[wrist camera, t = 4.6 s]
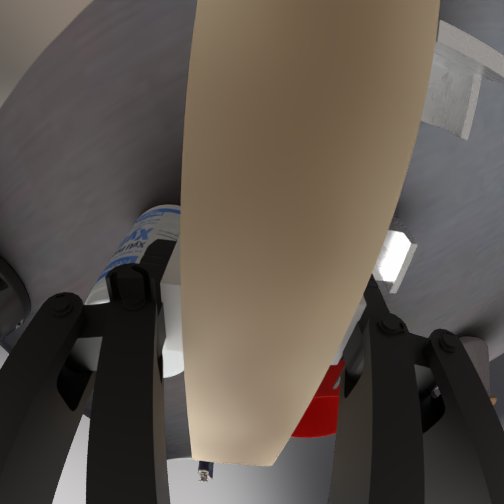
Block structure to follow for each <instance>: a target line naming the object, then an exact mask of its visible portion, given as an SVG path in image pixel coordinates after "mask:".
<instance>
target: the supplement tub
mask: <svg viewBox="0 0 504 504" xmlns="http://www.w3.org/2000/svg"><path fill="white" fill-rule="evenodd" d="M180 214H181V206H178V205H160V206H156V207H153V208H151V209H149V210H147V211H146V212H144V213H143V214H142V215H141V216H140V217H139V218H138V220H137V221H136V223H135V224H134V225H133V227H132V228H131V230H130V231H129V233H128V234H127V236H126V237H125V239H124V240H123V242H122V243H121V245H120V246H119V248H118V249H117V251H116V252H115V254H114V255H113V257H112V258H111V260H110V261H109V263H108V265H107V266H106V268H105V269H104V271H103V273H102V274H101V276H100V277H99V279H98V281H97V282H96V284H95V286H94V287H93V289H92V291H91V292H90V294H89V296H88V298H87V300H86V302H85V305H91V304H102V303H107V302H110V300H109V295H108V290H107V285H106V280H105V277H106V275H107V274H108V272H109V271H110V270H112V269H113V268H114V267H116V266H119V265H121V264H126V263H138V264H139V263H140V260H141V258H142V256H144V253H145V251H146V249H147V247H148V245H150V244H151V243H153V242H154V241H155V240H157V239H165V240H173V241H178V238H179V236H180ZM162 354H163V378H165V377H171V376H174V375H177V374H179V373H181V372H182V371H183V370H184V359H183V352H180V351H173V350H167V349H166V342H165V343H164V346H163V350H162Z"/></svg>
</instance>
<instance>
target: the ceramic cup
mask: <svg viewBox="0 0 504 504" xmlns="http://www.w3.org/2000/svg"><path fill="white" fill-rule="evenodd" d="M344 366H345V362H344V361H343V360H342V359H340V360H339V362H338V364H337V365H330V366H329V368H328V370H327V372H326V374H325V376H324V378H323V380H322V382H321V384H320V386H319V388H318V389H317V391H316V393H315V395H314V397H313V399H312V400H311V402H310V404H309V406H308V408H307V409H306V411H305V413H304V415H303V416H302V418H301V420H300V421H299V423H298V425H297V427H296V428H295V430H294V432H293V433H292V435H291V437H301V438H312V437H321V436H327V435H331V434H335V433H336V431H337V419H338V406H339V391H340V383H339V385H338V387H337V388H336V389H333V387H334V384H335V382H336V380H337V378H338V377H339V375H340V373H341V371H342V369H343V368H344Z"/></svg>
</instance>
